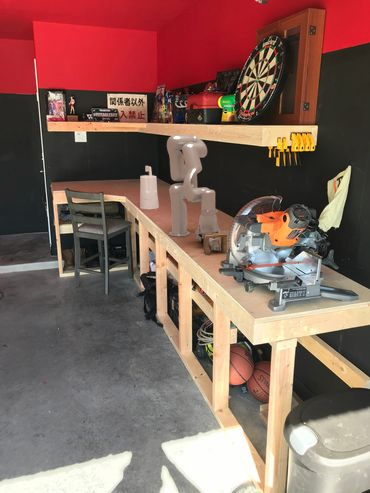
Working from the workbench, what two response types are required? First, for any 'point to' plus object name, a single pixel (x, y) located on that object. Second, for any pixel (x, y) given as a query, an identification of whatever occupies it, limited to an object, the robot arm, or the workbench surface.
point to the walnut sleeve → (214, 235)
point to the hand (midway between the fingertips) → (208, 244)
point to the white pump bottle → (148, 191)
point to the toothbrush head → (211, 243)
